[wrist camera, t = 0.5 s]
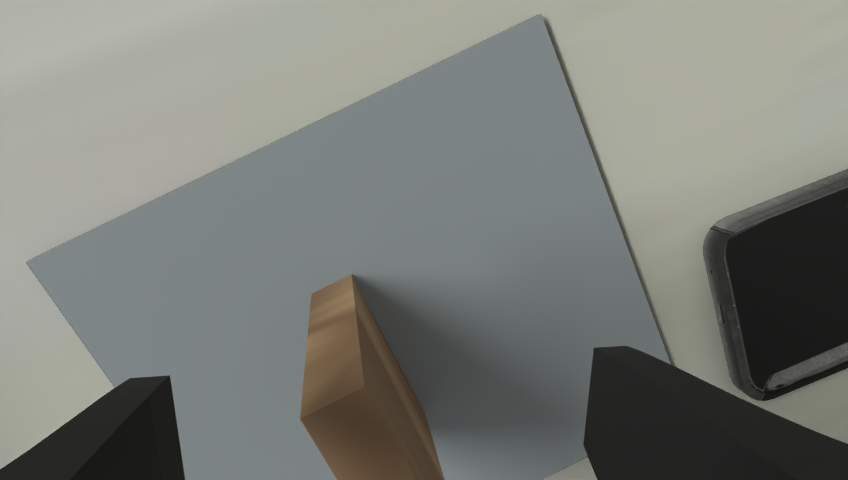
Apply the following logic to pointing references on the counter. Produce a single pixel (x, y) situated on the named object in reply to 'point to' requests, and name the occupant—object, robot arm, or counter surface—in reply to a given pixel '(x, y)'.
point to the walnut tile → (361, 394)
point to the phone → (783, 288)
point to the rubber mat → (379, 272)
